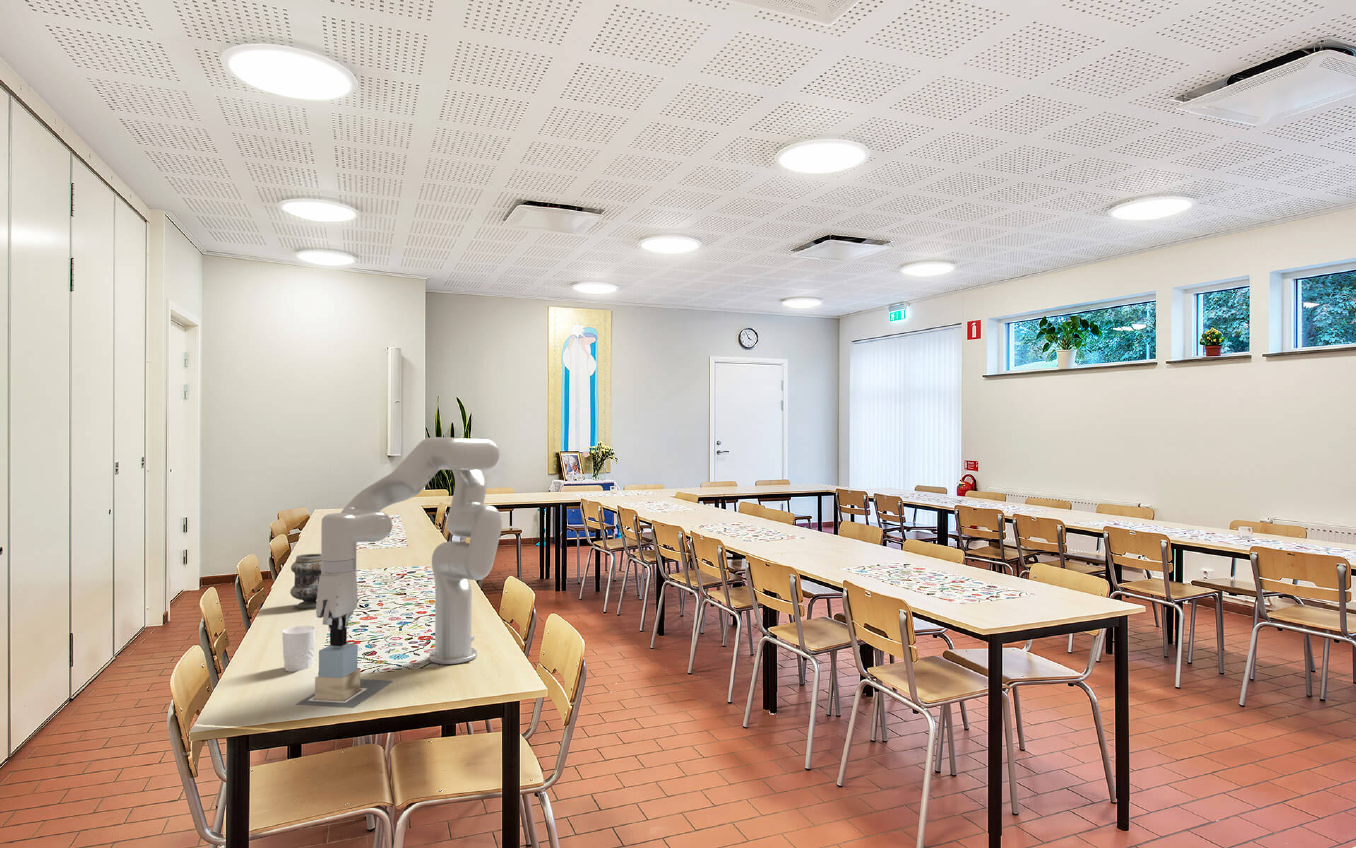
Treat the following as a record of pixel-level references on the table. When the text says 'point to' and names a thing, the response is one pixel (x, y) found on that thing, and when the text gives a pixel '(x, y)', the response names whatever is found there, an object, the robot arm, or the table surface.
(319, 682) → the base block
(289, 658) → the white cup
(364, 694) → the mat
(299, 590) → the apothecary jar
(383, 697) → the table surface
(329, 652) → the blue block
